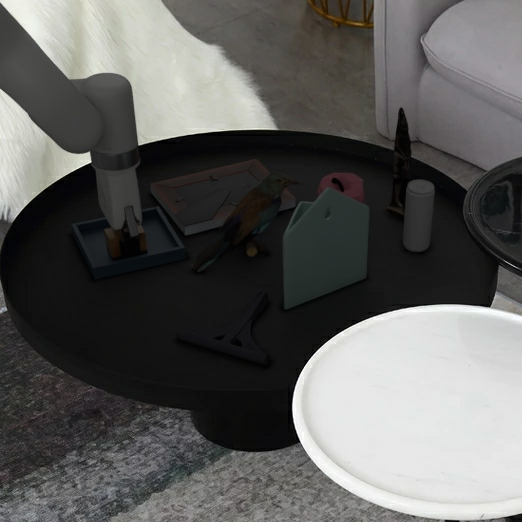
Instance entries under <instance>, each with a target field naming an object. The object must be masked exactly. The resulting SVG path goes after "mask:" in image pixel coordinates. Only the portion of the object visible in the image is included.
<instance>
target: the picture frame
mask: <svg viewBox="0 0 522 522" xmlns="http://www.w3.org/2000/svg"><path fill="white" fill-rule="evenodd" d="M271 173H272V172H270V171H269V169H267V168H266V167H265V166H264V165H263V163H261V162H260V161H259V159H258V158H253V159H249V160H244V161H241V162H237V163H233V164H229V165H224V166H220V167H216V168H210V169H207V170H203V171H198V172H194V173H190V174H186V175H182V176H177V177H173V178H169V179H165V180H160V181H155V182H151V183H149V187H150V193H151V194H152V195H153V197H154V198H155V200H156V201H157V202H158V203H159V204H160V206H161V207H162V208H163V209H164V211H165V212H166V214H168V216H169V217H170V218H171V219H172V221H173V222H174V223H175V225H176V226H177V227H178V228H179V230H180V231H181V232H182V233H183V234H184V236H185V237H187V236H190V235H191V236H192V235H196V234H198V233H203V232H206V231H207V232H208V231H211V230H214V229H218V228H219V229H220V228H221V226H222V225H223V223H224V222H225V221H226V219H227V218H228V217H229V216H230V214H231V213H232V212H233V210H234V209H235V208H236V207H237V206H238V204H239V203H240V201H241V200H242V199H243V198H244V197H245V195H246V194H247V193H248V192H249V191H251V190H252V189H253V188H255V187H256V186H258V185H259V184H260V183H261V182H262V181H263V180H264V179H265V178H267V177H268V176H269V175H270V174H271ZM280 197H281V199H282V202H281V206H280V208H279V211H278V213H279V212H280V213H281V212H284V211H287V210H292V209H294V208H295V209H296V207H297V204H296V200H297V199H296V197H295V196H294V194H292V193H291V192H290V191H289V190H288V189H287V187H286V188H285V189H284V191H283V192H282V194H281V196H280Z"/></svg>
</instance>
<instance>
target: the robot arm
mask: <svg viewBox="0 0 522 522" xmlns="http://www.w3.org/2000/svg"><path fill="white" fill-rule="evenodd" d="M0 90H1V91H2V92H3V93H4V94H6V95H7V96H8V97H9V98H10V99H11V100H12V101H14V102H15V103H16V104H17V105H18V106H19V107H20V108H21V109H22V110H23V111H24V112H25V113H26V114H27V116H28V117H29V118H30V120H31V121H32V122H33V123H34V124H35V126H37V127H38V128H39V129H40V130H41V131H42V132H43V133H44V134H46V135H47V137H49V138H50V139H51V140H52V141H53V142H54V143H55V145H57V146H58V147H59V148H60V149H62V150H63V151H65V152H66V153H68V154H73V155H84V154H87V153H89V157H90V162H91V163H90V164H91V166H92V168H93V169H94V170H95V178H96V180H95V181H96V189H97V198H98V204H99V207H100V210H101V212H102V213H103V215H104V217H106V219H107V221H108V222H109V224H110V226H111V227H112V228H113V229H114V230H118V229H119V232H120V238H121V240H119V245H120V252H121V259H125V258H129V257H134V256H139V255H141V252H140V244H139V235H138V230H137V224H138V225H139V226H140V225H141V223H142V203H141V202H142V201H141V196H140V195H141V194H140V190H139V184H138V182H139V181H138V177H137V171H136V169H137V168H138V167H139V166H140V164H141V154H140V146H139V140H138V139H139V138H138V130H137V120H136V119H137V118H136V111H135V101H134V92H133V87H132V83H131V82H130V81H129V79H128V78H127V77H125V75H124V76H123V75H122V74H119V73H115V72H99V73H94V74H91V75H90V76H89V75H88V76H87V77H85V78H72V79H70V78H68V76H67V75H66V74H65V73H64V71H62V70H61V69H60V68H59V67H58V66H57V64H55V62H54V61H53V60H52V59H51V58H50V57H49V56H48V54H47V53H46V52H45V51H44V50H43V49H42V48H41V46H40V45H39V44H38V43H37V41H36V40H35V39H34V38H33V37H32V36H31V34H29V32H28V31H27V30H26V29H25V28H24V27H23V26H22V25H21V24H20V22H19V21H18V19H16V18H15V17H14V16H13V14H12V13H11V12H10V11H9V10H8V9H7V8H6V7H5V6H4V5H3V3H2V2H0ZM136 223H137V224H136ZM124 228H128V231H127V232H125V234H124Z"/></svg>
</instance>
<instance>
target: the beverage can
mask: <svg viewBox="0 0 522 522" xmlns="http://www.w3.org/2000/svg"><path fill="white" fill-rule="evenodd" d="M435 192H436V190H435V185H434V184H433V183H432V182H431V181H429V180H426V179H412V181H411V182H409V183H408V187H407V189H406V202H405V215H404V219H403V229H402V230H403V232H402V245H403V247H404V248H405V249H406V250H407V251H409V252H411V253H423V252H425V251H426V250H427V249H429V247H430V245H431V236H432V235H431V234H432V226H433V225H432V223H433V215H434V214H433V213H434V205H435V195H436V194H435Z"/></svg>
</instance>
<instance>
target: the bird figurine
mask: <svg viewBox="0 0 522 522" xmlns="http://www.w3.org/2000/svg"><path fill="white" fill-rule="evenodd" d="M270 173H271V174H270V175H269V176H268V177H267V178H265V179H264V180H263V181H262V182H261V183H260V184H259V185H258V186H256V187H255V188H253V189H252V190H251V191H249V192H248V193H247V194H246V195H245V197H244V198H243V199H242V200H241V201H240V203H239V204H238V206H237V207H236V208H235V209H234V210H233V212H232V213H231V214H230V216H229V217H228V218H227V219H226V221H225V222H224V223H223V225H222V226H221V227H219V232H220V234H219V235H217V237H215V239H213V240H212V241H211V242H210V243H208V244H207V246H205V247H204V248H203V249H202V250H201V251H200V252H199V253H198V254H197V255H196V257H195V260H194V261H193V262H192V264H191V265H190V268H191V269H193V270H195V271H196V272H197V273H200V272H203V271H204V270H205V269H206V268H207V267H209V266H210V265H212V263H213V262H216V261H218V260H219V259H221V258H222V257H225V255H227V254H229V253H231V252H234V251H235V250H237V249H238V248H240V247H242V246H245V251H246V255H247V256H248V257H255V256H256V255H257V254H258V252H260V253H264V254H267V253H269V250H270V249H269V247H268V246H267V245H266V244H265V243H263V244H261V243H259V242H257V241H256V240H255V239H254V238H255V237H257V236H258V235H260V234H261V233H262V232H263V231H264V230H266V229H267V228H268V226H269V225H271V224H272V222H274V220H275V219H276V218H277V215H278V213H279V212H278V211H279V208H280V206H281V202H282V199H281V197H280V196H281V194H282V192H283V191H284V189H285V188H286V189H287V187H290V186H295V185H301V186H303V183H301V181H298V180H296V179H294V178H291V177H290V176H289V175H287V174H286V173H282V172H281V171H273V172H270Z"/></svg>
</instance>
